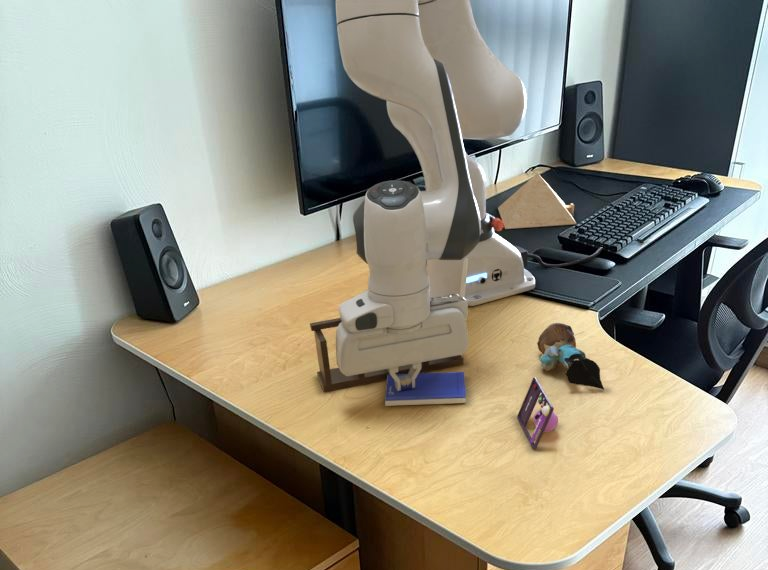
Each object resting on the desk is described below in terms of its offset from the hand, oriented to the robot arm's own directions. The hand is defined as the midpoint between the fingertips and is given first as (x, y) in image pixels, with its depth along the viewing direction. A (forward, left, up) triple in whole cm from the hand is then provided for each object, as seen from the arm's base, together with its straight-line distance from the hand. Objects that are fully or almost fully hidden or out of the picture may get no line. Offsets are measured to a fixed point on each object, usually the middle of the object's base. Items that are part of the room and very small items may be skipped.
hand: (405, 388), depth 119 cm
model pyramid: (-55, -73, -2) cm, 91 cm away
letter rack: (0, -10, -2) cm, 10 cm away
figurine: (-26, +2, -2) cm, 26 cm away
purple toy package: (-15, +17, -2) cm, 23 cm away
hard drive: (-3, 0, -2) cm, 4 cm away
